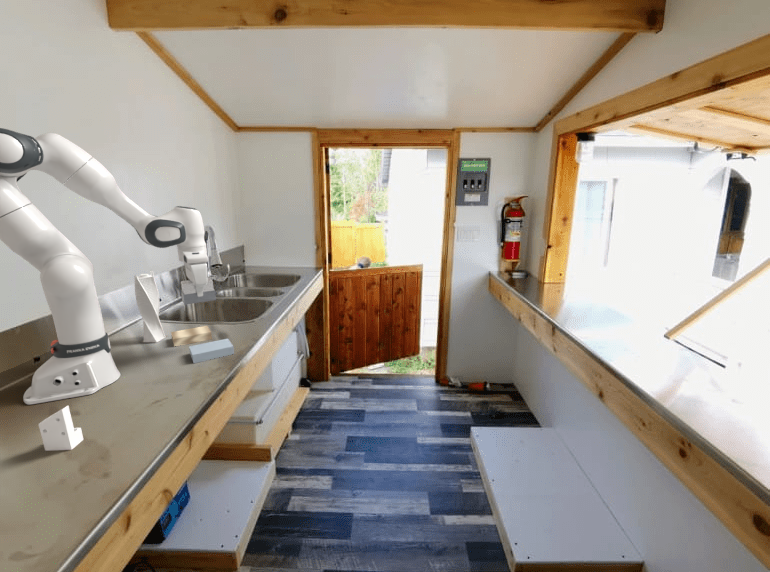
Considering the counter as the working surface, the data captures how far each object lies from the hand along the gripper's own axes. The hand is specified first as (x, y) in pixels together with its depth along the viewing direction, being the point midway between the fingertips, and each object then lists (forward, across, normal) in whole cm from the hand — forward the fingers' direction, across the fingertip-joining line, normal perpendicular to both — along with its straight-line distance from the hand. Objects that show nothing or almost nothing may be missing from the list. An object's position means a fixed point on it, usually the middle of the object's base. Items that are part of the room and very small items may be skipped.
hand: (198, 293), depth 134 cm
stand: (+21, +6, +1) cm, 22 cm away
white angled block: (+22, +40, -37) cm, 58 cm away
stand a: (+21, -14, -2) cm, 26 cm away
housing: (+2, 0, 0) cm, 2 cm away
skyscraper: (+22, -23, -14) cm, 34 cm away
